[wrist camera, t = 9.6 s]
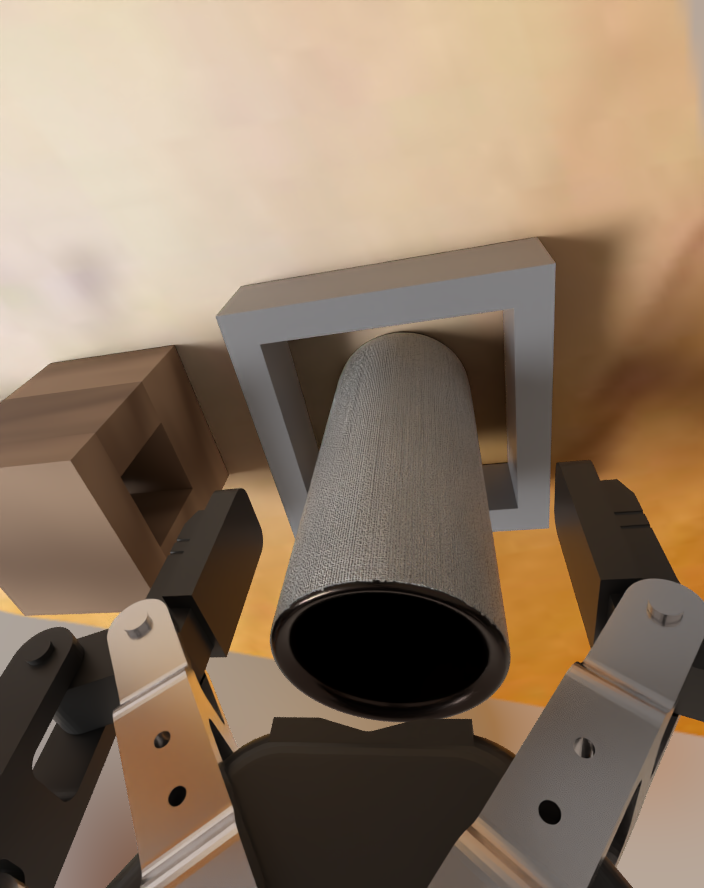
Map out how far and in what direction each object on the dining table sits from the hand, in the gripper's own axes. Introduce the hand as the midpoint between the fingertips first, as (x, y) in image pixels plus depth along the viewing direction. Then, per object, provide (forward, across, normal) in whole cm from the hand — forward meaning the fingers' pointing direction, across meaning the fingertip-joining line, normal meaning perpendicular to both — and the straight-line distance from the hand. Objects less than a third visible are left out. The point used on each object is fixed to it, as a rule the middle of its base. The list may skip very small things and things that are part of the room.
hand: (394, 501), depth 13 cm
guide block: (+6, +10, 0) cm, 12 cm away
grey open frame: (+6, 0, 0) cm, 6 cm away
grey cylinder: (+6, 0, 0) cm, 6 cm away
